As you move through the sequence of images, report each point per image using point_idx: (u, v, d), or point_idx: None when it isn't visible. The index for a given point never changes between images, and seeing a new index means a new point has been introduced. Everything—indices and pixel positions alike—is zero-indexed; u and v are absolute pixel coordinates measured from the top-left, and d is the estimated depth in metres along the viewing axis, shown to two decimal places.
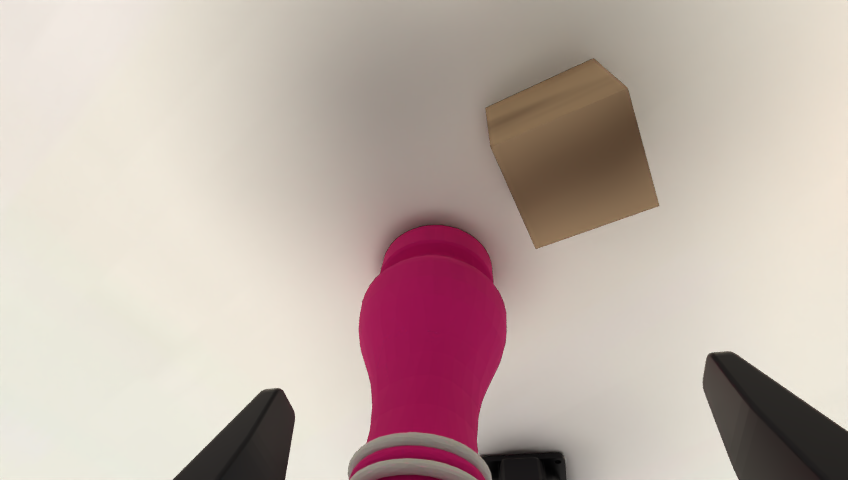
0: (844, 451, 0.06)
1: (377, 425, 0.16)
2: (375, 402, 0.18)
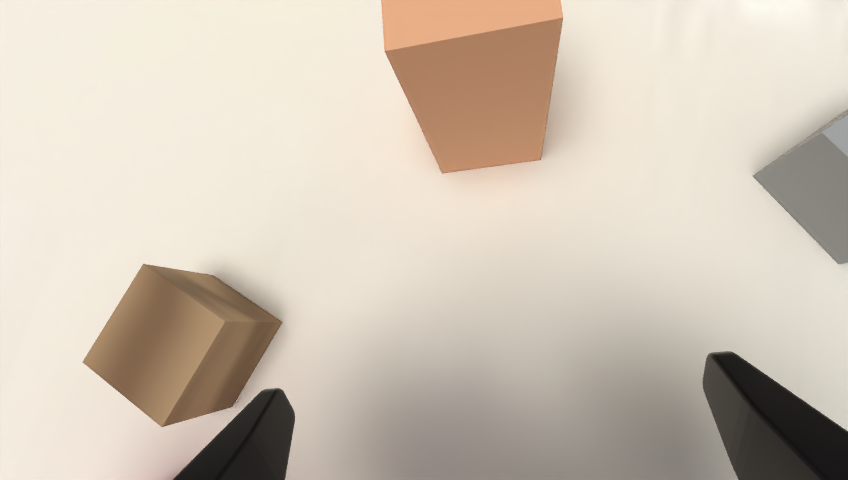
0: (844, 451, 0.06)
1: None
2: None
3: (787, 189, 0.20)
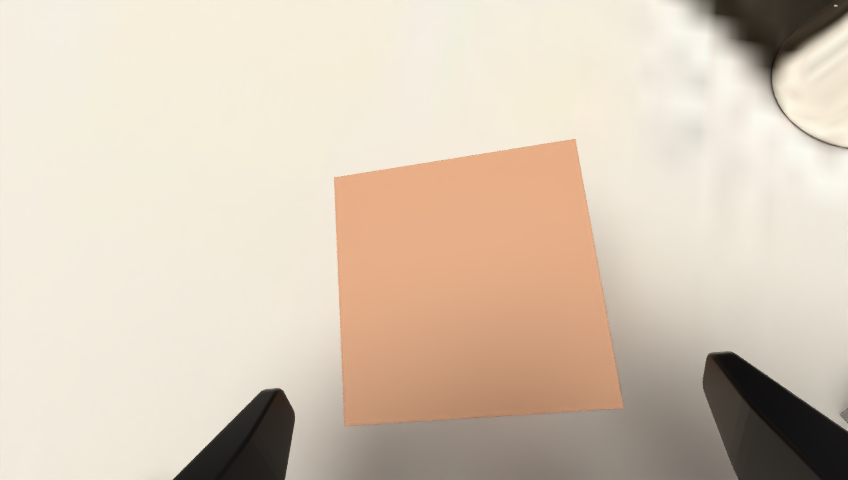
0: (844, 451, 0.06)
1: None
2: None
3: None
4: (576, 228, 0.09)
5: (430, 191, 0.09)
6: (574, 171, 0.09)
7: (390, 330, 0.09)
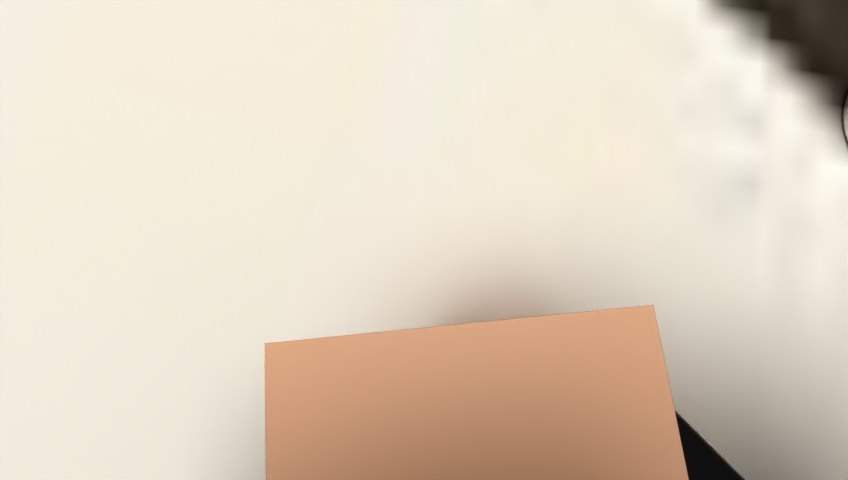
0: (695, 458, 0.07)
1: None
2: None
3: None
4: (660, 469, 0.05)
5: (414, 380, 0.06)
6: (653, 362, 0.05)
7: None
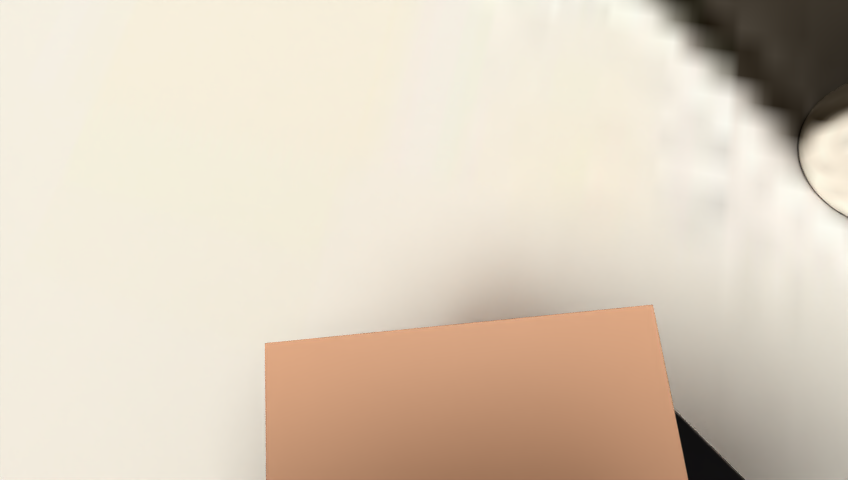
0: (695, 458, 0.07)
1: None
2: None
3: None
4: (659, 468, 0.05)
5: (414, 379, 0.06)
6: (652, 361, 0.05)
7: None
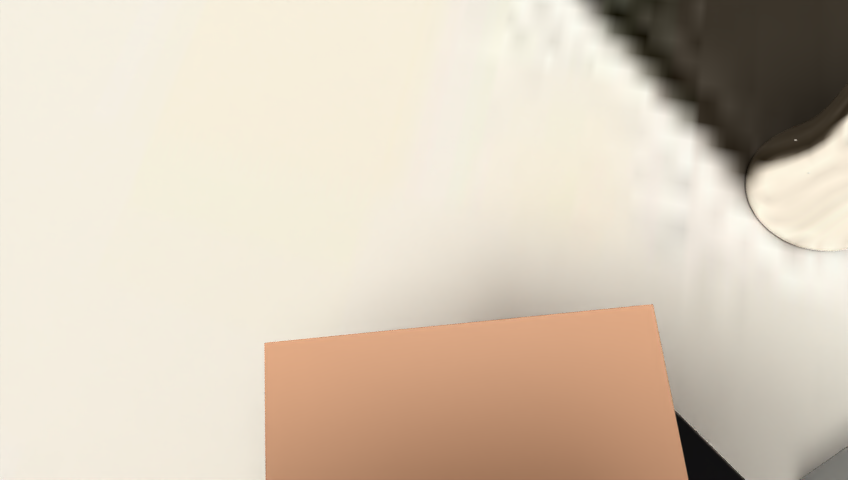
0: (695, 458, 0.07)
1: None
2: None
3: None
4: (660, 468, 0.05)
5: (414, 379, 0.06)
6: (652, 361, 0.05)
7: None
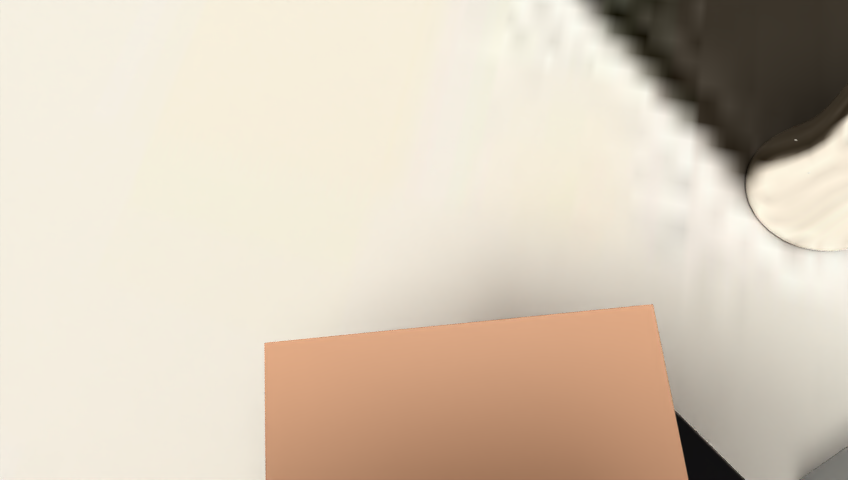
0: (695, 458, 0.07)
1: None
2: None
3: None
4: (660, 468, 0.05)
5: (414, 379, 0.06)
6: (652, 361, 0.05)
7: None
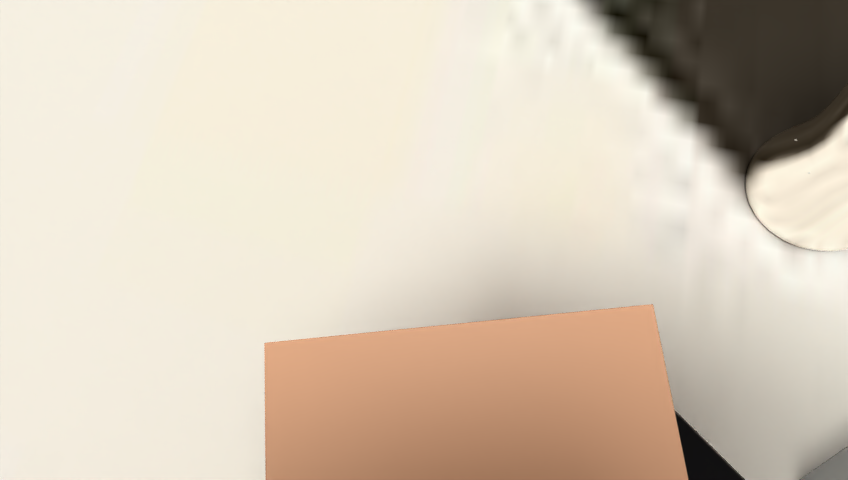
0: (695, 458, 0.07)
1: None
2: None
3: None
4: (660, 468, 0.05)
5: (414, 379, 0.06)
6: (652, 361, 0.05)
7: None
